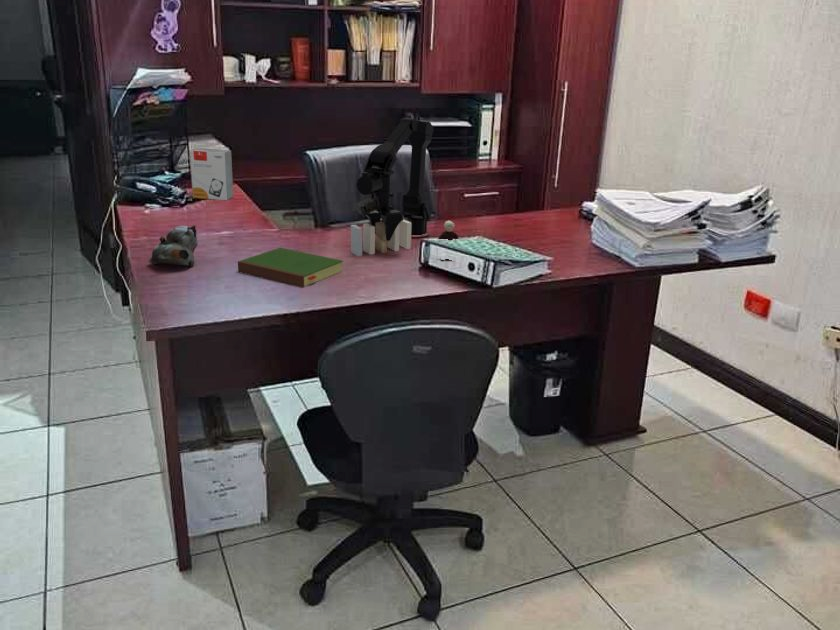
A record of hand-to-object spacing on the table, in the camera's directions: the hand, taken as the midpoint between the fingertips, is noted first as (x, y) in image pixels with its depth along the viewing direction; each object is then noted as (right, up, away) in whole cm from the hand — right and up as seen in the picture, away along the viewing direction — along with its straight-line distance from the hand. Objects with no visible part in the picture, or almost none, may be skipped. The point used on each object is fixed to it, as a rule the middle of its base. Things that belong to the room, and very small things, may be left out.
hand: (381, 237), depth 240 cm
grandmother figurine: (+21, -8, -6) cm, 24 cm away
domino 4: (+4, -4, +4) cm, 6 cm away
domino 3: (0, -4, +2) cm, 5 cm away
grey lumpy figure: (-61, -10, -19) cm, 65 cm away
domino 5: (+8, -3, +6) cm, 10 cm away
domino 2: (-4, -5, -1) cm, 6 cm away
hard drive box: (-75, +24, +71) cm, 105 cm away
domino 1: (-8, -6, -3) cm, 10 cm away
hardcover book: (-25, -13, -22) cm, 36 cm away
